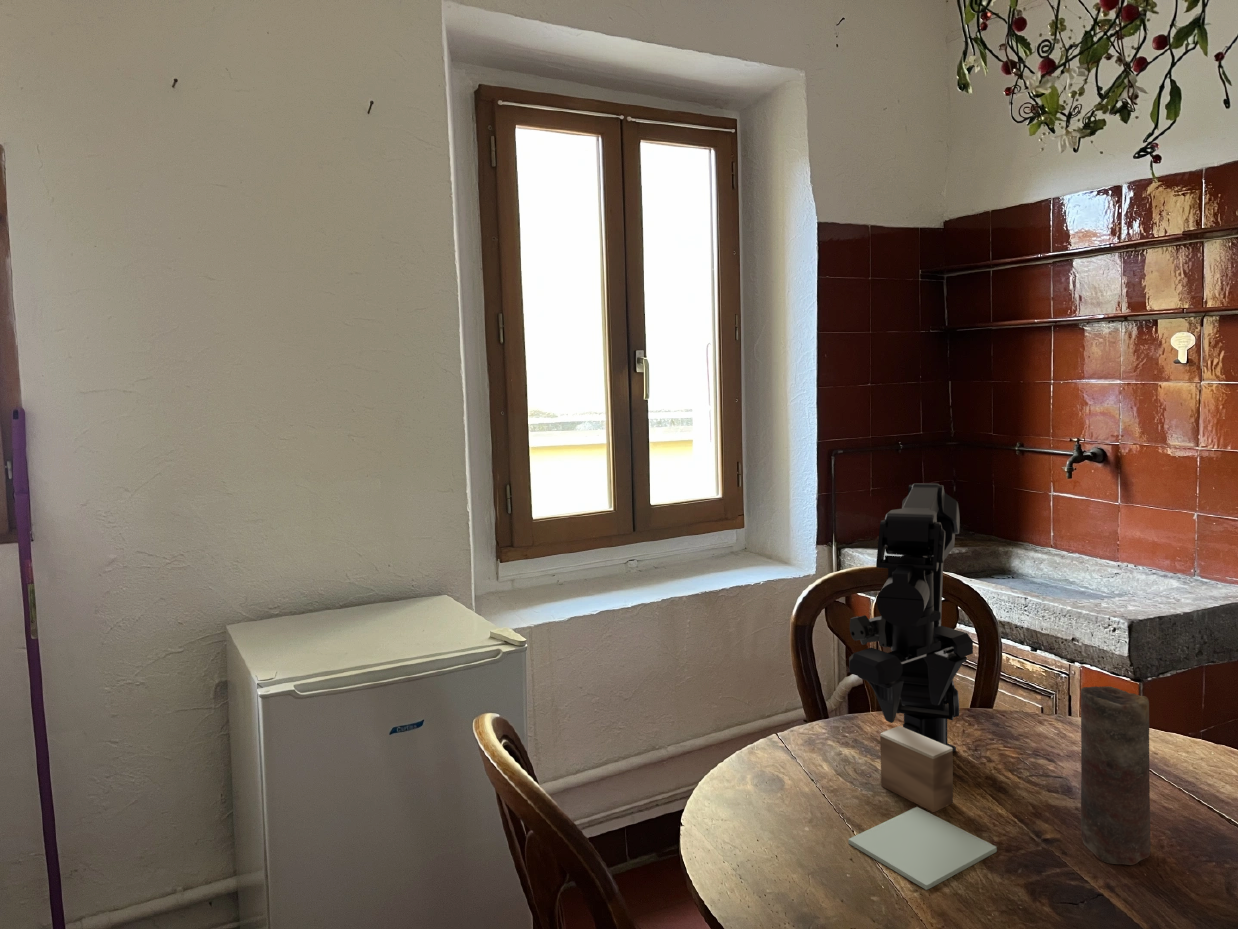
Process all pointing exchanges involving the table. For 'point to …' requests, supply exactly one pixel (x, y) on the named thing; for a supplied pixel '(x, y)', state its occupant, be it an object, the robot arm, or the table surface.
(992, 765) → the table surface
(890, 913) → the table surface
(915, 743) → the walnut slab
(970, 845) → the sage mat
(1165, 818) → the table surface
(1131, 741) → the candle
